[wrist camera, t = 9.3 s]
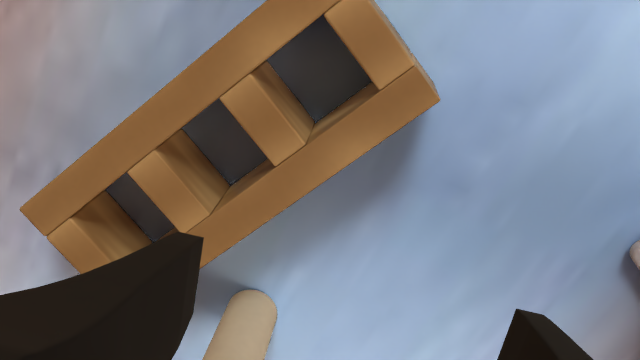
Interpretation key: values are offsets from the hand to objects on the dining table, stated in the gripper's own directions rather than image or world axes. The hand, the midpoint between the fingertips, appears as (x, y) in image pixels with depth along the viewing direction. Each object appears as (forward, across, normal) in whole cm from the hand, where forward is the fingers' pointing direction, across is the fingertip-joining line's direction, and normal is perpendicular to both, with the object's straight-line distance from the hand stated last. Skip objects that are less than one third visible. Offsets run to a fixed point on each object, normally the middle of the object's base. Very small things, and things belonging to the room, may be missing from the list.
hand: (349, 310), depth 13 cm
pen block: (+10, +5, 0) cm, 12 cm away
